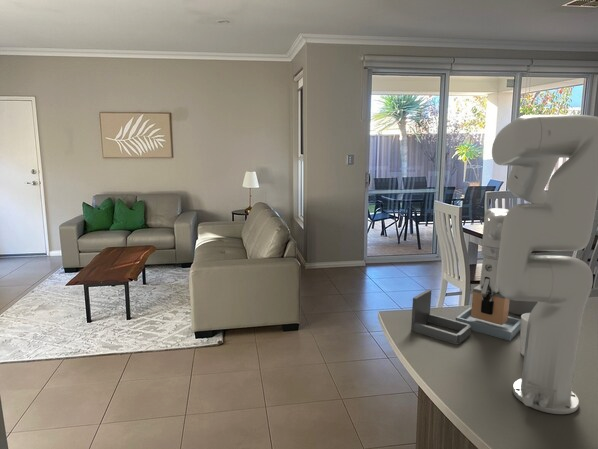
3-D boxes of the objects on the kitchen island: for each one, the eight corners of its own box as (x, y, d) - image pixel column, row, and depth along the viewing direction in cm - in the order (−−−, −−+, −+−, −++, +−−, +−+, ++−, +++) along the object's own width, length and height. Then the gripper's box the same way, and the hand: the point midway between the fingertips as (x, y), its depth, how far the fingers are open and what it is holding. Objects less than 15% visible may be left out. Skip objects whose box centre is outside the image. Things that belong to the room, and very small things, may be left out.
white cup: (555, 354, 116) (559, 318, 114) (546, 365, 110) (551, 327, 108) (522, 344, 121) (526, 310, 119) (513, 354, 115) (517, 318, 113)
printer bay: (458, 345, 121) (460, 310, 119) (411, 330, 130) (412, 297, 128) (471, 333, 128) (474, 300, 126) (426, 320, 137) (428, 289, 135)
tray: (510, 340, 123) (510, 332, 123) (455, 325, 133) (455, 317, 133) (522, 327, 132) (523, 320, 131) (469, 314, 142) (470, 306, 141)
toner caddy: (502, 325, 127) (505, 295, 126) (470, 316, 133) (473, 288, 131) (507, 320, 131) (510, 291, 129) (476, 312, 137) (479, 284, 135)
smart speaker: (535, 321, 137) (540, 277, 134) (502, 314, 142) (507, 272, 139) (537, 311, 145) (542, 270, 142) (507, 305, 150) (511, 265, 147)
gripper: (499, 259, 119) (493, 322, 123) (518, 248, 132) (512, 305, 135) (471, 254, 124) (466, 315, 128) (492, 244, 137) (487, 299, 140)
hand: (490, 310), depth 132 cm, fingers closed on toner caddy, 5 cm apart
